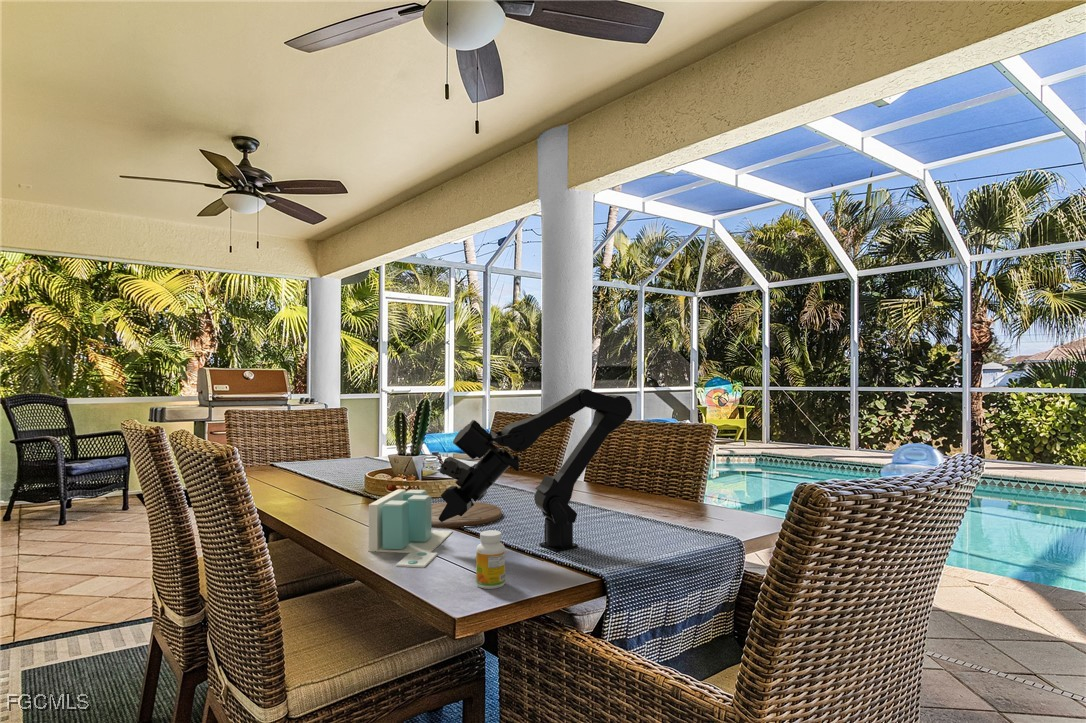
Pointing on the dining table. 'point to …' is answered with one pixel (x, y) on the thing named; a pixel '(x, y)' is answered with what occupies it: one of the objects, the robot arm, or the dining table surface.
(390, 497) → the l-shaped bookend
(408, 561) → the card
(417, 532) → the teal upright block
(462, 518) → the trivet
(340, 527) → the dining table surface
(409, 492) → the teal rectangular block
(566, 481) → the robot arm
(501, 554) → the supplement bottle
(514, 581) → the dining table surface
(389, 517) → the teal tall block
